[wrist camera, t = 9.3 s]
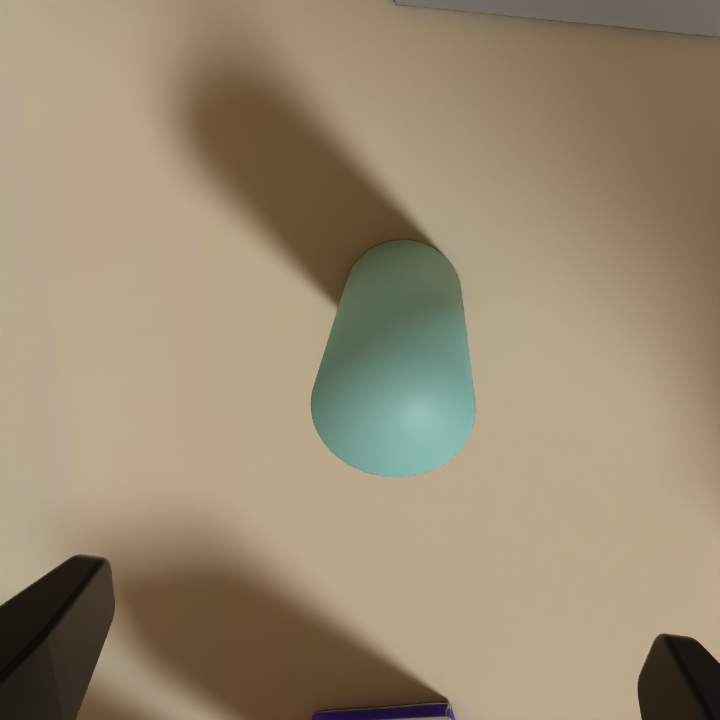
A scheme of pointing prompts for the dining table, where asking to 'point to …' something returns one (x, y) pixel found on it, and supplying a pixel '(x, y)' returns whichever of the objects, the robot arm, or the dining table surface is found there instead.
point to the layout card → (599, 12)
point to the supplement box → (391, 713)
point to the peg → (397, 364)
